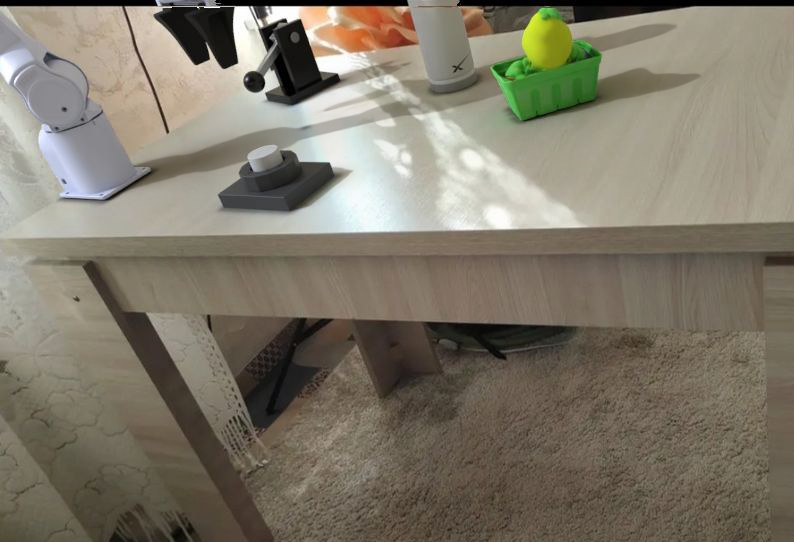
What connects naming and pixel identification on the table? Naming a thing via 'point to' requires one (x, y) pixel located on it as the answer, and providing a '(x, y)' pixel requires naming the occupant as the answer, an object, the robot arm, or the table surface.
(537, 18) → the fruit basket
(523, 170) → the table surface
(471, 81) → the travel mug
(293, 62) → the black lever base
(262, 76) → the flush lever
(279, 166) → the push button base
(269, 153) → the white push button
